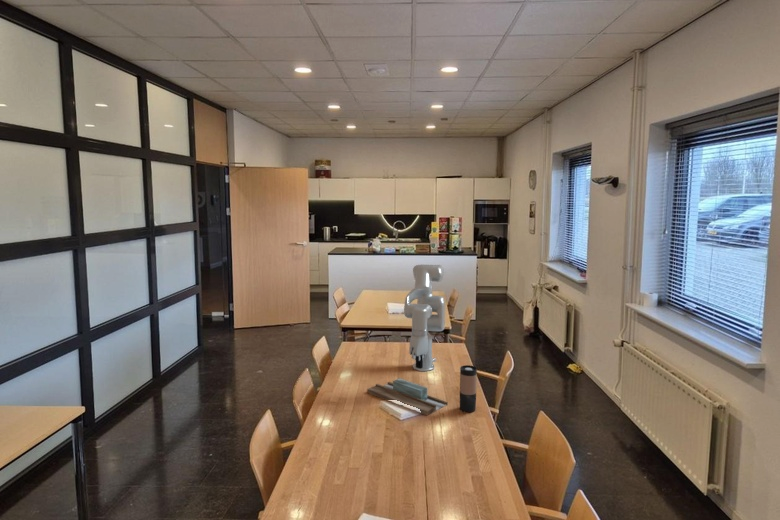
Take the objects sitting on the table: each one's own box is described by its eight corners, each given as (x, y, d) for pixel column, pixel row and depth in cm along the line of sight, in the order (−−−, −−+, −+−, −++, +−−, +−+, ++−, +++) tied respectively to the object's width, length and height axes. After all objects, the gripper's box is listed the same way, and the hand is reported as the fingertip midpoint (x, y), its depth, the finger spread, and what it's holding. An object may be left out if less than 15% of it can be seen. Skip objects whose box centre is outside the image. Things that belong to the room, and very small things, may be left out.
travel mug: (477, 407, 224) (478, 366, 222) (473, 414, 217) (474, 371, 215) (462, 404, 227) (462, 364, 225) (457, 411, 221) (458, 369, 218)
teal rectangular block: (399, 389, 245) (399, 378, 244) (427, 399, 233) (427, 387, 232) (392, 392, 241) (392, 381, 240) (420, 402, 229) (421, 390, 228)
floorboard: (388, 383, 253) (388, 378, 253) (447, 404, 228) (447, 399, 227) (367, 392, 241) (367, 387, 241) (426, 415, 216) (426, 409, 216)
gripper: (422, 327, 246) (422, 362, 249) (404, 333, 235) (403, 369, 238) (434, 330, 241) (434, 365, 244) (415, 336, 230) (415, 373, 233)
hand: (419, 367), depth 241 cm, fingers closed
